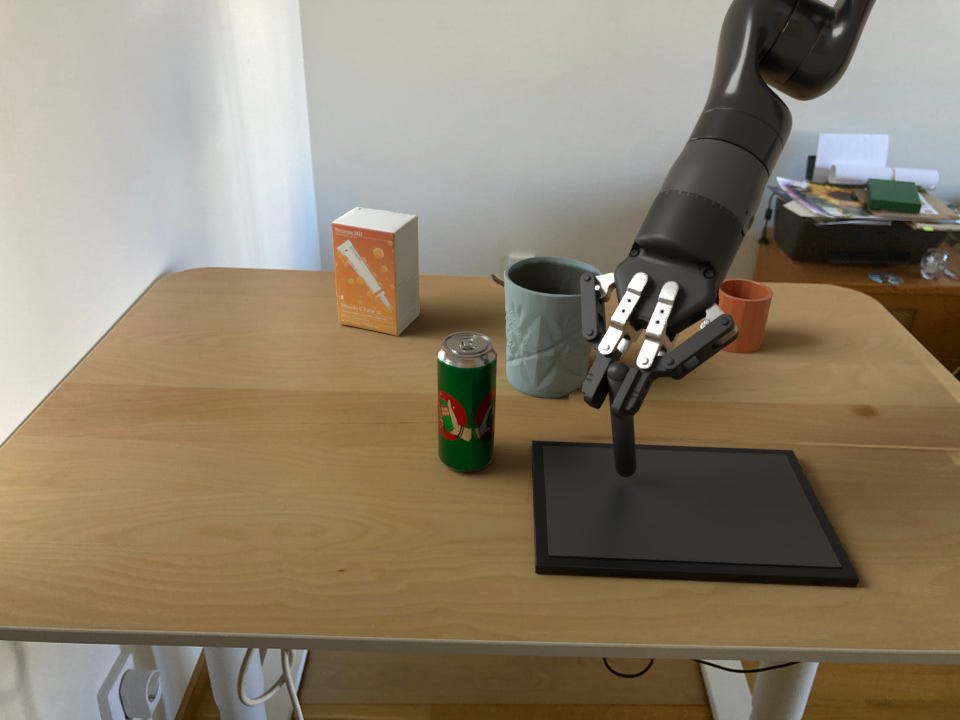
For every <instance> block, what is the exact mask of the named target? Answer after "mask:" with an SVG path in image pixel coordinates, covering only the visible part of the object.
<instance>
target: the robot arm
mask: <svg viewBox="0 0 960 720" xmlns="http://www.w3.org/2000/svg"><path fill="white" fill-rule="evenodd" d="M876 2H877V0H836V1H835V3H834V4H833V6H831V5H829V4H827V3H825V2H823V1H822V0H732V1H731V3H730V5H729V7H728V9H727V11H726V13H725V16H724V18H723V21H722V24H721V27H720V31H719V37H718V41H717V47H716V53H715V54H716V55H715V60H714V61H715V62H714V68H713V73H712V79H711V83H710V87H709V89H708V90H709V91H708V95H707V97H706V101H705V104H704V106H703V109H702V111H701V113H700V115H699V117H698V119H697V121H696V123H695V124H694V126H693V129H692V131H691V133H690V134H689V137H688V138H687V141H686V142H685V145H684V147H682V150H681V152H680V153H679V154H678V156H677V158H676V159H675V161H674V162H673V163H672V165H671V167H670V168H669V169H668V172H667V174H666V176H665V178H664V180H663V181H662V184H661V186H660V187H659V190H658V192H657V194H656V195H655V198H654V199H653V200H652V201H653V202H652V203H651V206H650V207H649V209H648V211H647V213H646V215H645V217H644V219H643V222H642V223H641V225H640V227H639V229H638V231H637V233H636V235H635V237H634V239H633V242H632V245H631V248H630V252H628V253H629V254H628V255H627V256H626V258H625V259H623V260H622V261H621V262H620V263H618V264H617V265H616V267H615V269H614V271H613V272H609V273H608V272H607V273H603V275H599V276H595V275H594V274H593V273H592V272H589V271H588V272H585V273H583V274H582V275H581V277H580V289H581V310H582V332H583V337H584V338H585V339H586V340H587V341H588V343H589V344H590V345H591V346H592V348H593V350H595V351H596V357H595V359H594V361H593V362H592V365H591V367H590V369H589V371H588V373H587V374H586V379H585V381H584V383H583V384H582V385H581V388H582V389H581V392H582V393H583V394H584V395H583V402H584V403H585V404H586V405H588V407H591V408H592V409H596V410H600V409H601V408H602V406H603V405H604V402H605V400H606V398H607V396H608V395H609V392H608V380H607V369H608V367H609V365H610V364H611V363H613V362H615V361H623V360H624V358H625V356H626V355H627V353H628V352H629V349H630V348H631V346H632V345H633V343H636V342H637V341H638V339H639V337H640V336H641V334H642V333H643V330H645V334H644V336H645V338H644V342H643V343H642V345H641V349H640V351H639V353H638V355H637V358H636V365H635V366H629V367H630V369H629V371H628V373H627V375H626V377H625V379H624V381H623V383H622V385H621V387H620V389H619V391H618V393H617V395H616V398H615V400H614V402H613V404H612V406H611V413H612V414H613V415H614V416H615V417H617V418H619V419H622V420H624V421H625V420H626V419H627V418H628V417H629V414H630V415H632V416H634V417H635V415H637V414H638V413H639V411H640V409H641V407H642V405H643V403H644V401H645V399H646V397H647V395H648V393H649V391H650V389H651V387H652V384H653V383H654V382H655V381H656V380H657V379H660V378H671V379H672V380H674V381H679V380H682V379H684V378H685V377H686V376H688V375H689V374H690V373H692V372H693V371H695V370H696V369H697V368H699V367H700V366H701V365H703V364H704V363H705V362H707V361H709V360H710V359H711V358H712V357H714V356H715V355H717V354H718V353H720V351H723V350H722V349H723V348H725V347H726V346H728V345H729V344H730V343H732V342H733V341H734V340H736V339H737V338H738V335H739V332H738V329H737V326H736V324H735V321H734V320H733V318H732V317H731V316H730V315H729V314H725V313H724V312H723V311H722V310H721V309H720V307H719V306H718V305H719V288H720V286H721V284H722V283H723V281H724V279H726V276H727V275H728V273H729V271H730V269H731V266H732V265H733V262H734V260H735V258H736V256H737V254H738V252H739V249H740V247H741V245H742V243H743V242H744V239H745V237H746V235H747V234H748V232H749V230H750V229H751V228H752V226H753V224H754V221H755V217H756V214H757V212H758V210H759V208H760V205H761V202H762V199H763V195H764V192H765V189H766V186H767V184H768V182H769V180H770V178H771V175H772V173H773V171H774V169H775V167H776V165H777V163H778V161H779V159H780V157H781V155H782V152H783V150H784V148H785V146H786V145H787V142H788V141H789V138H790V135H791V132H792V130H793V124H794V123H793V115H792V112H791V110H790V108H789V106H788V105H787V104H786V102H785V101H784V100H783V99H782V98H781V97H780V96H779V95H778V93H776V92H775V91H774V90H773V89H776V91H778V92H781V93H782V94H784V95H785V96H788V97H789V98H791V99H793V100H797V101H800V102H807V101H811V100H812V101H813V100H816V99H817V98H820V97H822V96H823V95H825V94H827V93H828V92H830V91H831V90H833V88H834V87H835V86H836V85H837V84H838V83H839V82H840V81H841V80H842V78H843V77H844V75H845V74H846V72H847V70H848V68H849V66H850V64H851V62H852V60H853V57H854V55H855V53H856V51H857V47H858V45H859V42H860V40H861V37H862V35H863V32H864V30H865V28H866V25H867V23H868V20H869V18H870V15H871V12H872V10H873V9H874V7H875V4H876ZM614 290H615V291H616V298H617V302H618V306H617V307H616V309H615V311H614V313H613V314H612V316H611V318H610V322H609V323H610V324H609V327H608V329H607V321H606V304H605V303H609V302H610V300H611V297H612V293H613V291H614ZM702 320H703V321H702ZM700 321H701V323H700V326H699V330H697V332H695V333H694V334H692V335H691V336H690V337H689V338H687V339H686V340H684V341H682V343H680V344H679V345H677V346H676V347H675V345H676V342H677V340H678V337H679V335H680V333H682V332H683V331H686V330H687V329H689V328H690V327H692V326H693V325H695V324H696V323H699V322H700Z"/></svg>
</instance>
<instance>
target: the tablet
mask: <svg viewBox="0 0 960 720" xmlns="http://www.w3.org/2000/svg"><path fill="white" fill-rule="evenodd" d="M530 448H531V476H532V504H533V505H532V509H533V510H532V511H533V513H532V514H533V540H534V543H533V544H534V545H533V546H534V573H535V574H536V575H560V576H581V577H582V576H585V577H606V578H607V577H608V578H627V579H628V578H629V579H630V578H632V579H655V580H675V581H677V580H679V581H701V582H723V583H724V582H726V583H751V584H773V585H798V586H821V587H843V588H844V587H845V588H846V587H847V588H857V587H858V586H859V585H858V584H859V581H860V577H859V575H858V573H857V570H856V569H855V567H854V565H853V563H852V562H851V559H850V557H849V556H848V554H847V551H846V550H845V548H844V546H843V544H842V541H841V540H840V538H839V536H838V534H837V532H836V530H835V529H834V526H833V525H832V523H831V521H830V519H829V517H828V515H827V513H826V511H825V509H824V507H823V506H822V505H823V504H821V502H820V499H819V498H818V496H817V493H816V491H815V490H814V488H813V485H812V484H811V483H810V480H809V479H808V477H807V475H806V473H805V471H804V469H803V467H802V465H801V462H800V461H799V460H798V458H797V455H796V453H795V451H794V449H775V448H774V449H773V448H747V447H746V448H745V447H744V448H743V447H724V446H723V447H721V446H720V447H719V446H697V445H696V446H691V445H667V444H665V445H664V444H661V445H660V444H641V443H640V444H638V443H635V449H636V471H635V473H634V474H633V475H632V476H631V477H626V478H625V477H621V476H620V475H618V474H617V472H616V470H615V461H614V450H613V442H612V443H611V442H608V443H607V442H586V441H585V442H584V441H561V440H560V441H558V440H533V439H532V440H531V447H530Z"/></svg>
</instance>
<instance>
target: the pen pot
mask: <svg viewBox="0 0 960 720" xmlns="http://www.w3.org/2000/svg"><path fill="white" fill-rule="evenodd" d="M773 296H774V292H773V290H772V288H771V287H769V286H767V285H766V284H764V283H761V282H759V281H756V280H753V279H747V278H740V277H739V278H738V277H737V278H735V277H733V278H725V279H724V281H723V283H722V284H721V286H720V288H719V305H718V306H719V307H720V309H721V310H722V311H723V312H724V313H725V314H729V315H730V316H731V317H732V318H733V320H734V321H735V324H736V326H737V329H738V332H739V335H738V338H737V339H736V340H734V341H733V342H732V343H730V344H729V345H728V346H726V347H725V348H723V349H722V350H721V351H724V352H727V353H732V354H751V353H755V352H757V351H759V350H760V349H761V348H762V345H763V342H764V341H763V340H764V336H765V333H766V327H767V323H768V318H769V315H770V309H771V305H772V302H773Z"/></svg>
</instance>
